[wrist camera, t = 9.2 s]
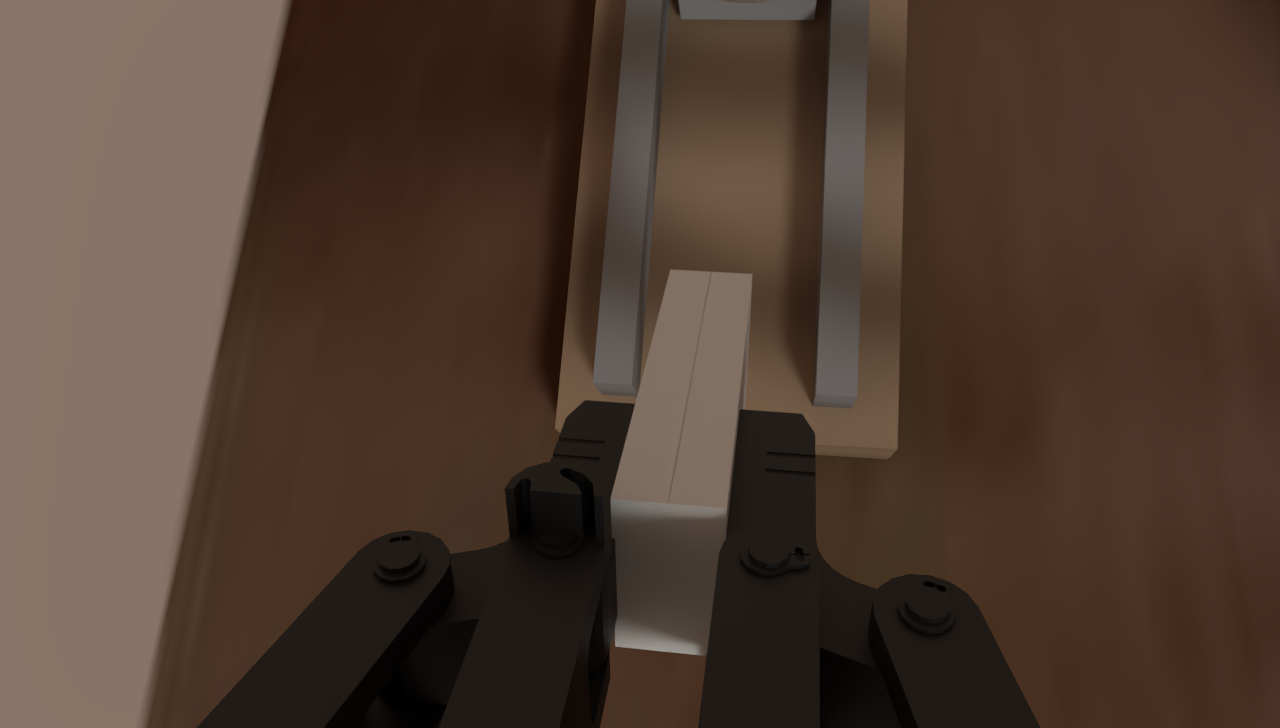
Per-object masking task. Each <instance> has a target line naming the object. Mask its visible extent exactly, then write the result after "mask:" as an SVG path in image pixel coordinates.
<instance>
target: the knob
mask: <svg viewBox="0 0 1280 728" xmlns="http://www.w3.org/2000/svg"><path fill="white" fill-rule="evenodd" d="M678 1H679V8H680V16H681V19H715V20H815V10H816V0H678Z"/></svg>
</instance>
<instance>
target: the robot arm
mask: <svg viewBox="0 0 1280 728" xmlns="http://www.w3.org/2000/svg"><path fill="white" fill-rule="evenodd" d="M751 292H752V274H744V273H726V272H708V271H690V270H672V269H670V273H669V277H668V281H667V284H666V288H665V292H664V296H663V300H662V304H661V307H660V311H659V315H658V319H657V323H656V327H655V330H654V334H653V338H652V342H651V346H650V349H649V353H648V357H647V361H646V365H645V369H644V372H643V376H642V380H641V384H640V388H639V391H638V395H637V399H636V403H635V404H632V403H619V402H605V401H591V400H585V401H583V402H582V403H581V404H580V405H579V406H578V407H577V408H576V409H575V410H574V411H572V412H571V413H570V414H569V415H568V416H567V417H566V419H565V422H564V425H563V427H562V430H561V433H560V436H559V442H557V444H556V447H555V450H554V453H553V458H551V461H550V462H547V463H542V464H539V465H535V466H532V467H528V468H526V469H525V470H523V471H522V472H520V473H518V474H517V475H515V476H514V477H513V478H512V479H511V481H510V482H509V483H508V485H507V486H506V487H505V495H506V504H507V514H508V523H509V533H510V536H509V539H508V540H507V541H505V542H503V543H500V544H498V545H495V546H493V547H489V548H484V549H480V550H475V551H468V552H461V553H454V554H450V553H449V549H448V548H447V547H446V545H445V544H444V543H443V541H442V540H441V539H439V538H437V537H435V536H433V535H431V534H429V533H427V532H418V531H410V530H408V531H401V532H395V533H389V534H387V535H384V536H382V537H380V538H377V539H375V540H372V541H371V542H370V543H369V544H367V545H366V546H365V547H363V548H362V549H361V550H360V551H358V552H357V553H356V555H355V556H354V557H353V558H352V559H351V560H350V561H349V562H348V563H347V564H346V565H345V567H344V568H343V569H342V570H341V571H340V572H339V573H338V574H337V575H336V576H335V577H334V579H333V580H332V581H331V582H330V583H329V584H328V585H327V586H326V587H325V588H324V589H323V591H322V592H321V593H320V594H319V595H318V596H317V597H316V598H315V599H314V600H313V601H312V603H311V604H310V605H309V606H308V607H307V608H306V609H305V610H304V611H303V612H302V613H301V615H300V616H299V617H298V618H297V619H296V620H295V621H294V622H293V623H292V624H291V625H290V627H289V628H288V629H287V630H286V631H285V632H284V633H283V634H282V635H281V636H280V637H279V639H278V640H277V641H276V642H275V643H274V644H273V645H272V646H271V647H270V648H269V649H268V651H267V652H266V653H265V654H264V655H263V656H262V657H261V658H260V659H259V660H258V661H257V663H256V664H255V665H254V666H253V667H252V668H251V669H250V670H249V671H248V672H247V673H246V675H245V676H244V677H243V678H242V679H241V680H240V681H239V682H238V683H237V684H236V685H235V687H234V688H233V689H232V690H231V691H230V692H229V693H228V694H227V695H226V696H225V697H224V698H223V700H222V701H221V702H220V703H219V704H218V705H217V706H216V707H215V708H214V709H213V710H212V712H211V713H210V714H209V715H208V716H207V717H206V718H205V719H204V720H203V721H202V722H201V724H200V725H199V726H198V727H197V728H600V724H601V719H602V714H603V709H604V705H605V700H606V695H607V690H608V685H609V681H610V658H609V651H610V647H611V642H612V638H613V633H614V628H615V646H616V647H626V648H635V649H645V650H655V651H664V652H674V653H683V654H693V655H703V656H707V658H706V667H705V675H704V684H703V692H702V701H701V709H700V718H699V726H698V728H1040V726H1039V724H1038V722H1037V720H1036V719H1035V717H1034V715H1033V713H1032V711H1031V709H1030V707H1029V705H1028V703H1027V701H1026V699H1025V697H1024V695H1023V693H1022V691H1021V689H1020V687H1019V685H1018V683H1017V682H1016V680H1015V678H1014V676H1013V674H1012V672H1011V670H1010V668H1009V666H1008V664H1007V662H1006V660H1005V658H1004V656H1003V654H1002V652H1001V650H1000V648H999V646H998V645H997V643H996V641H995V639H994V637H993V635H992V633H991V631H990V629H989V627H988V625H987V623H986V621H985V619H984V617H983V615H982V613H981V611H980V609H979V608H978V606H977V605H976V604H975V603H974V601H973V600H972V599H971V598H970V596H969V595H968V594H967V593H966V592H964V591H963V590H961V589H960V588H958V587H957V586H955V585H954V584H952V583H951V582H948V581H945V580H942V579H939V578H936V577H933V576H930V575H914V574H909V575H904V576H900V577H896V578H892V579H890V580H889V581H888V582H886V583H885V584H883V585H882V586H880V587H879V588H878V589H875V588H872V587H869V586H866V585H863V584H860V583H858V582H855V581H853V580H851V579H848V578H846V577H844V576H843V575H841V574H840V573H838V572H837V571H835V570H834V569H832V568H831V567H830V565H829V564H828V563H827V562H826V561H825V560H824V559H823V558H822V556H821V554H820V552H819V550H818V548H817V543H816V488H815V433H814V431H813V430H812V428H811V427H810V425H809V423H808V422H807V420H806V419H805V417H804V416H803V414H799V413H785V412H772V411H758V410H745V401H746V384H747V366H748V347H749V329H750V310H751Z"/></svg>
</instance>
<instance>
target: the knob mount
mask: <svg viewBox="0 0 1280 728" xmlns="http://www.w3.org/2000/svg"><path fill="white" fill-rule="evenodd" d="M907 4H908V0H816V10H815V20H715V19H681V16H680V8H679V1H678V0H596V6H595V16H594V27H593V37H592V48H591V58H590V69H589V79H588V89H587V100H586V110H585V121H584V131H583V141H582V152H581V162H580V173H579V183H578V194H577V204H576V214H575V225H574V235H573V246H572V256H571V267H570V277H569V287H568V298H567V308H566V319H565V329H564V339H563V350H562V360H561V371H560V381H559V392H558V402H557V412H556V423H555V429H556V430H557V431H558V432H559V433H561V430H562V427H563V425H564V422H565V419H566V417H567V416H568V415H569V414H570V413H571V412H572V411H574V410H575V409H576V408H577V407H578V406H579V405H580V404H581V403H582V402H583V401H585V400H591V401H605V402H619V403H632V404H635V403H636V399H637V395H638V391H639V388H640V384H641V380H642V376H643V372H644V369H645V365H646V361H647V357H648V353H649V349H650V346H651V342H652V338H653V334H654V330H655V327H656V323H657V319H658V315H659V311H660V307H661V304H662V300H663V296H664V292H665V288H666V284H667V281H668V277H669V273H670V269H672V270H690V271H708V272H726V273H744V274H752V292H751V310H750V329H749V347H748V366H747V384H746V401H745V410H758V411H772V412H785V413H799V414H803V416H804V417H805V419H806V420H807V422H808V423H809V425H810V427H811V428H812V430H813V431H814V433H815V455H825V456H842V457H858V458H875V459H889V458H890V457H891V456H892V454H893V453H894V452H895V451H896V450H897V449H898V407H899V362H900V317H901V273H902V228H903V183H904V138H905V94H906V49H907Z"/></svg>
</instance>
